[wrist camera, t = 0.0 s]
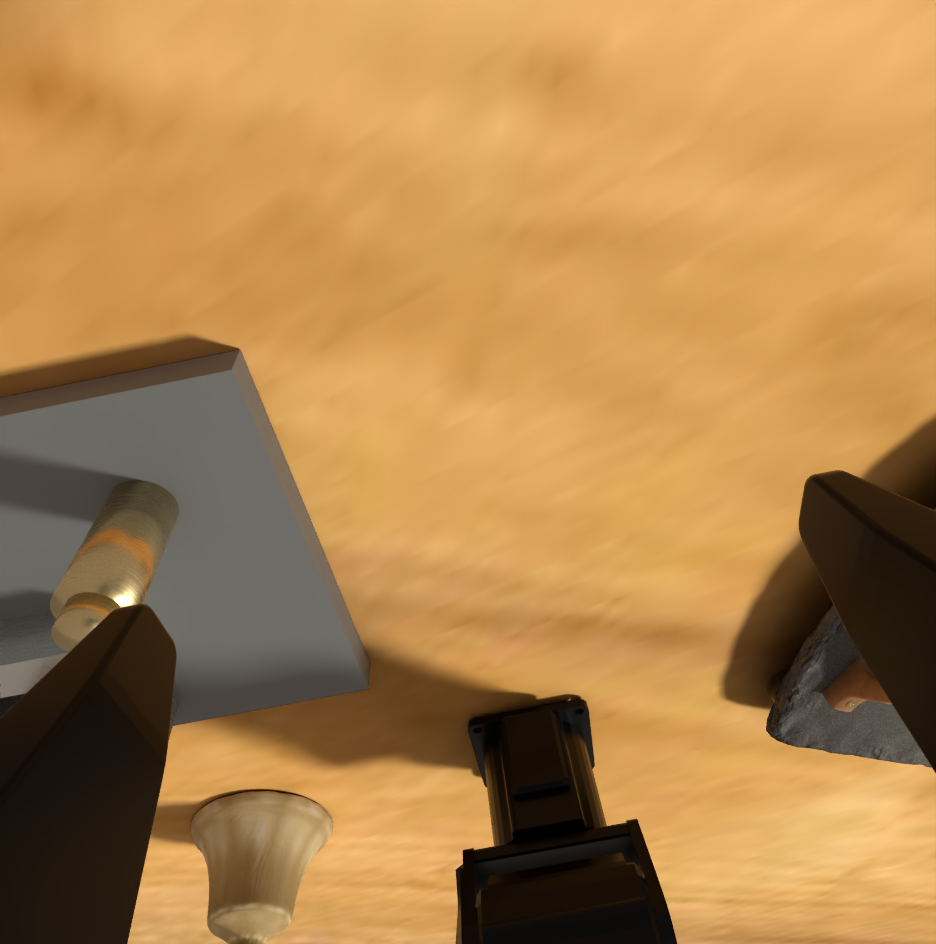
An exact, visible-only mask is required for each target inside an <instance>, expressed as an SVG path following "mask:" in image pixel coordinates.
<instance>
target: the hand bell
mask: <svg viewBox="0 0 936 944" xmlns="http://www.w3.org/2000/svg"><path fill="white" fill-rule="evenodd" d="M332 830H333V821H332V818H331V816H330V815H329V813H328V812H327V811H326V810H325V809H324V808H323V807H322V806H320V805H319V804H317V803H315V802H314V801H311V800H309V799H307V798H304V797H302V796H297V795H293V794H286V793H278V792H272V791H261V792H245V793H240V794H235V795H231V796H227V797H224V798H219V799H217V800H215V801H213V802H211V803H209V804H207V805H206V806H204V807H203V808H202V809H200V810H199V811H198V812H197V813H196V814H195V816H194V818H193V820H192V822H191V835H192V838H193V841H194V843H195V845H196V846H197V848H198V849H199V850H200V851H201V852H202V853H203V855H204V858H205V860H206V864H207V868H208V875H209V906H208V917H207V925H208V928H209V930H210V931H211V932H212V933H213V934H214V935H215V936H217V937H219V938H221V939H223V940H224V941H226V942H227V943H228V944H265V943H266V942H267V941H269V940H270V939H272V938H274V937H276V936H278V935H280V934H281V933H283V932H284V931H285V930H286V929H287V928H288V927H289V925H290V923H291V920H292V915H293V910H294V905H295V900H296V896H297V892H298V889H299V885H300V882H301V879H302V877H303V874H304V872H305V869H306V867H307V866H308V864H309V862H310V861H311V859H312V858H313V856H314V855H315V854H316V853H318V852H319V851H320V850H321V849H322V848H323V847H324V846H325V844H326V843H327V841H328V839H329V837H330V836H331V833H332Z"/></svg>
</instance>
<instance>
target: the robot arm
mask: <svg viewBox="0 0 936 944" xmlns="http://www.w3.org/2000/svg"><path fill="white" fill-rule="evenodd" d="M799 531H800V535H801V538H802V540H803V543H804V545H805V547H806V549H807V551H808V553H809V555H810V557H811V559H812V561H813V563H814V565H815V567H816V569H817V571H818V574H819V576H820V578H821V580H822V582H823V584H824V586H825V588H826V590H827V592H828V594H829V596H830V598H831V600H832V602H833V605H834V607H835V609H836V611H837V613H838V615H839V617H840V619H841V621H842V623H843V625H844V627H845V629H846V631H847V632H848V634H849V636H850V638H851V640H852V641H853V643H854V645H855V646H856V648H857V650H858V651H859V653H860V654H861V656H862V658H863V659H864V661H865V662H866V664H867V665H868V667H869V669H870V670H871V672H872V673H873V675H874V677H875V678H876V680H877V681H878V683H879V684H880V686H881V688H882V689H883V691H884V692H885V694H886V695H887V697H888V699H889V700H890V702H891V703H892V705H893V706H894V708H895V710H896V711H897V713H898V714H899V716H900V718H901V719H902V721H903V722H904V724H905V725H906V727H907V729H908V730H909V732H910V733H911V735H912V736H913V738H914V740H915V741H916V743H917V744H918V746H919V747H920V749H921V751H922V752H923V754H924V755H925V757H926V759H927V760H928V762H929V763H930V765H931V766H932V768H933V770H934V771H935V773H936V511H935V510H932V509H930V508H928V507H926V506H923V505H921V504H919V503H916V502H914V501H912V500H909V499H907V498H905V497H903V496H900V495H898V494H896V493H893V492H891V491H889V490H886V489H884V488H882V487H880V486H877V485H875V484H873V483H870V482H868V481H866V480H863V479H861V478H859V477H856V476H854V475H852V474H850V473H847V472H844V471H840V470H836V471H830V472H825V473H820V474H814V475H812V476H810V477H809V478H808V479H807V480H806V482H805V486H804V492H803V498H802V504H801V510H800V516H799ZM176 660H177V653H176V647H175V644H174V641H173V639H172V638H171V636H170V635H169V633H168V632H167V630H166V629H165V627H164V626H163V624H162V623H161V621H160V620H159V618H158V617H157V615H156V614H155V612H154V611H153V610H152V608H151V607H149V606H148V605H146V604H137V605H132V606H126V607H121V608H118V609H115V610H113V611H112V612H111V613H110V614H109V615H107V616H106V617H105V618H104V619H103V620H102V621H101V622H100V623H99V624H98V625H97V626H96V627H95V628H94V629H93V630H92V631H91V632H90V633H89V634H88V635H87V636H86V637H84V638H83V639H82V640H81V641H80V642H79V643H78V644H77V645H76V646H75V647H74V648H73V649H72V650H71V651H70V652H69V653H68V654H67V655H66V656H65V657H64V658H63V659H61V660H60V661H59V662H58V663H57V664H56V665H55V666H54V667H53V668H52V669H51V670H50V671H49V672H48V673H47V674H46V675H45V676H44V677H43V678H42V679H41V680H39V681H38V682H37V683H36V684H35V685H34V686H33V687H32V688H31V689H30V690H29V691H28V692H27V693H26V694H25V695H24V696H23V697H22V698H21V699H20V700H19V701H17V702H16V703H15V704H14V705H13V706H12V707H11V708H10V709H9V710H8V711H7V712H6V713H5V714H4V715H3V716H2V717H1V718H0V944H127V942H128V937H129V933H130V928H131V923H132V919H133V914H134V909H135V905H136V900H137V895H138V891H139V886H140V881H141V877H142V872H143V867H144V863H145V858H146V853H147V849H148V844H149V839H150V835H151V830H152V825H153V821H154V816H155V811H156V807H157V802H158V797H159V793H160V788H161V783H162V779H163V773H164V768H165V763H166V755H167V748H168V739H169V729H170V719H171V710H172V700H173V690H174V680H175V670H176ZM468 732H469V736H470V739H471V742H472V746H473V749H474V752H475V756H476V759H477V762H478V766H479V769H480V772H481V775H482V779H483V782H484V785H485V787H487V790H488V798H489V806H490V815H491V823H492V831H493V840H494V847H489V848H483V849H478V850H474V848H472V849H466V850H463V865H461V866H460V867H459V868H457V869H456V880H457V895H458V917H457V932H456V944H677V941H676V937H675V933H674V929H673V925H672V921H671V917H670V914H669V910H668V907H667V904H666V901H665V897H664V894H663V891H662V889H661V886H660V883H659V880H658V877H657V874H656V871H655V869H654V866H653V863H652V860H651V857H650V854H649V852H648V849H647V846H646V843H645V840H644V837H643V834H642V832H641V829H640V826H639V823H638V820H637V819H633V820H627V821H626V823H622V824H616V825H611V826H607V825H606V821H605V817H604V813H603V809H602V806H601V802H600V798H599V794H598V790H597V786H596V782H595V778H594V774H593V771H592V769H593V768H594V766H595V764H594V755H593V745H592V736H591V727H590V718H589V710H588V706H587V703H586V701H584V700H581V699H578V700H572V701H567V702H561V703H556V704H550V705H545V706H540V707H534V708H529V709H523V710H518V711H513V712H507V713H502V714H496V715H491V716H486V717H480V718H475V719H472V720H470V721H469V722H468Z"/></svg>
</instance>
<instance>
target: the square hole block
mask: <svg viewBox="0 0 936 944" xmlns="http://www.w3.org/2000/svg"><path fill="white" fill-rule="evenodd" d="M55 622H56V619H55V617H54V616H53V614H52V612H51V611H46V612H41V613H35V614H30V615H25V616H20V617H15V618H10V619H4V620H0V718H1V717H2V716H3V715H4V714H5V713H6V712H7V711H8V710H9V709H10V708H11V707H12V706H13V705H14V704H15V703H16V702H17V701H19V700H20V699H21V698H22V697H23V696H24V695H25V693H27V692H28V691H29V690H30V689H31V688H32V687H33V686H34V685H35V684H36V683H37V682H38V681H39V680H41V679H42V678H43V677H44V676H45V675H46V674H47V673H48V672H49V671H50V670H51V669H52V668H53V667H54V666H55V665H56V664H57V663H58V662H59V661H60V660H61V659H63V658H64V657H65V656H66V655H67V654H68V653H69V652H68V651H66V650H64V649H62V648H60V647H59V646H58V645H57V644H56V643H55V642H54V641H53V639H52V637H51V629H52V627H53V625H54V623H55ZM178 707H179V702H178V701H177V699H176V698H175V697H174V695H173V700H172V710H171V719H170V729H169V737H170V734H171V730H172V727H173V723H174V720H175V717H176V713H177V710H178ZM168 740H169V739H168Z"/></svg>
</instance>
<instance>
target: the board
mask: <svg viewBox="0 0 936 944" xmlns="http://www.w3.org/2000/svg"><path fill="white" fill-rule="evenodd" d="M131 480H143V481H148V482H152V483H155V484H157V485H159V486H161V487H163V488H165V489H166V490H167V491H169V492H170V493H171V494H172V495H173V497H174V498H175V499H176V501H177V503H178V506H179V516H178V519H177V521H176V524H175V526H174V529H173V531H172V534H171V536H170V539H169V541H168V544H167V546H166V549H165V551H164V554H163V556H162V559H161V561H160V563H159V566H158V568H157V571H156V573H155V576H154V578H153V581H152V583H151V586H150V588H149V591H148V593H147V596H146V598H145V601H144V603H143V604H146V605H148V606H149V607H151V608H152V610H153V611H154V612H155V614H156V615H157V617H158V618H159V620H160V621H161V623H162V624H163V626H164V627H165V629H166V630H167V632H168V633H169V635H170V636H171V638H172V639H173V641H174V644H175V647H176V653H177V660H176V670H175V680H174V690H173V695H174V697H175V698H176V699H177V701H178V702H179V707H178V710H177V713H176V717H175V720H174V723H173V726H175V725H180V724H185V723H191V722H196V721H201V720H207V719H212V718H217V717H223V716H228V715H233V714H239V713H244V712H249V711H255V710H260V709H265V708H271V707H276V706H281V705H287V704H292V703H297V702H303V701H308V700H313V699H319V698H324V697H329V696H335V695H340V694H345V693H351V692H356V691H362V690H367V689H369V673H370V662H369V660H368V657H367V655H366V653H365V650H364V648H363V645H362V643H361V640H360V638H359V636H358V633H357V631H356V628H355V626H354V624H353V621H352V619H351V616H350V614H349V611H348V609H347V607H346V604H345V602H344V599H343V597H342V594H341V592H340V590H339V587H338V585H337V582H336V580H335V578H334V575H333V573H332V570H331V568H330V565H329V563H328V561H327V558H326V556H325V553H324V551H323V549H322V546H321V544H320V541H319V539H318V536H317V534H316V532H315V529H314V527H313V524H312V522H311V519H310V517H309V515H308V512H307V510H306V507H305V505H304V503H303V500H302V498H301V495H300V493H299V490H298V488H297V486H296V483H295V481H294V478H293V476H292V473H291V471H290V469H289V466H288V464H287V461H286V459H285V457H284V454H283V452H282V449H281V447H280V444H279V442H278V440H277V437H276V435H275V432H274V430H273V428H272V425H271V423H270V420H269V418H268V415H267V413H266V411H265V408H264V406H263V403H262V401H261V398H260V396H259V394H258V391H257V389H256V386H255V384H254V382H253V379H252V377H251V374H250V372H249V369H248V367H247V365H246V362H245V360H244V357H243V355H242V352H241V350H235V351H230V352H225V353H220V354H215V355H210V356H205V357H200V358H195V359H190V360H185V361H180V362H175V363H170V364H166V365H161V366H156V367H151V368H146V369H141V370H136V371H131V372H126V373H121V374H116V375H111V376H106V377H101V378H96V379H91V380H86V381H81V382H76V383H71V384H67V385H62V386H57V387H52V388H47V389H42V390H37V391H32V392H27V393H22V394H17V395H12V396H7V397H2V398H0V620H4V619H10V618H15V617H20V616H25V615H30V614H35V613H41V612H46V611H51V609H50V600H51V597H52V596H53V594H54V592H55V590H56V588H57V587H58V585H59V583H60V581H61V579H62V578H63V576H64V574H65V572H66V571H67V569H68V567H69V565H70V563H71V562H72V560H73V558H74V556H75V554H76V553H77V551H78V549H79V547H80V546H81V544H82V542H83V540H84V538H85V537H86V535H87V533H88V531H89V529H90V528H91V526H92V524H93V522H94V521H95V519H96V517H97V515H98V513H99V512H100V510H101V508H102V506H103V504H104V503H105V501H106V499H107V497H108V496H109V494H110V492H111V491H112V489H113V488H114V487H116V486H117V485H119V484H120V483H123V482H126V481H131Z"/></svg>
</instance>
